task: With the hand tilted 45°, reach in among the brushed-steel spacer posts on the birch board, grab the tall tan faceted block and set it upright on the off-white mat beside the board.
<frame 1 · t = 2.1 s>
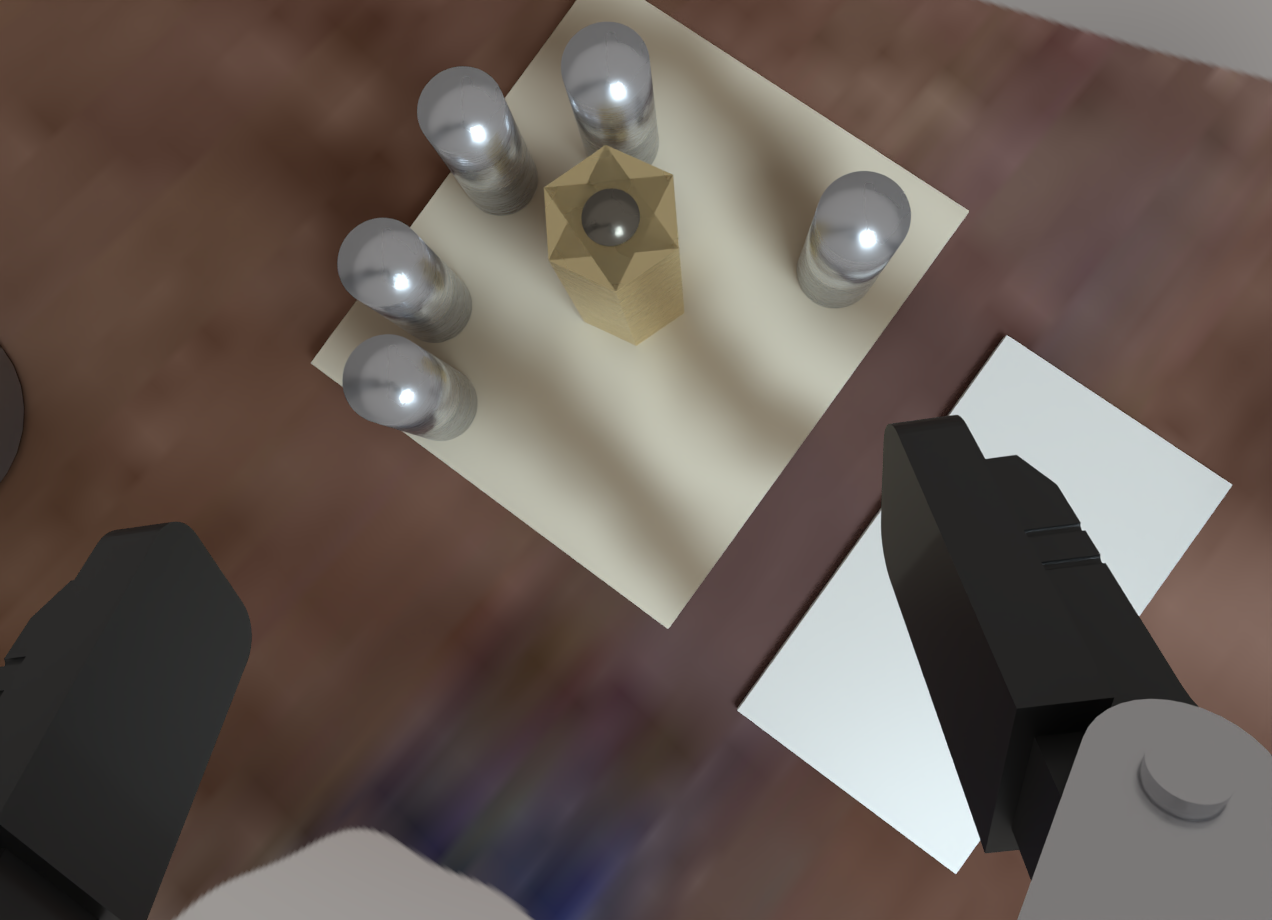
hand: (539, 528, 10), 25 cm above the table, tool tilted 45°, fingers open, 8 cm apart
off-white mat: (978, 598, 33), on the table
tan faceted block: (632, 288, 34), point 1 cm above the table, touching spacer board
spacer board: (634, 295, 35), on the table
spacer posts: (590, 293, 31), on the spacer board, point 4 cm above the table
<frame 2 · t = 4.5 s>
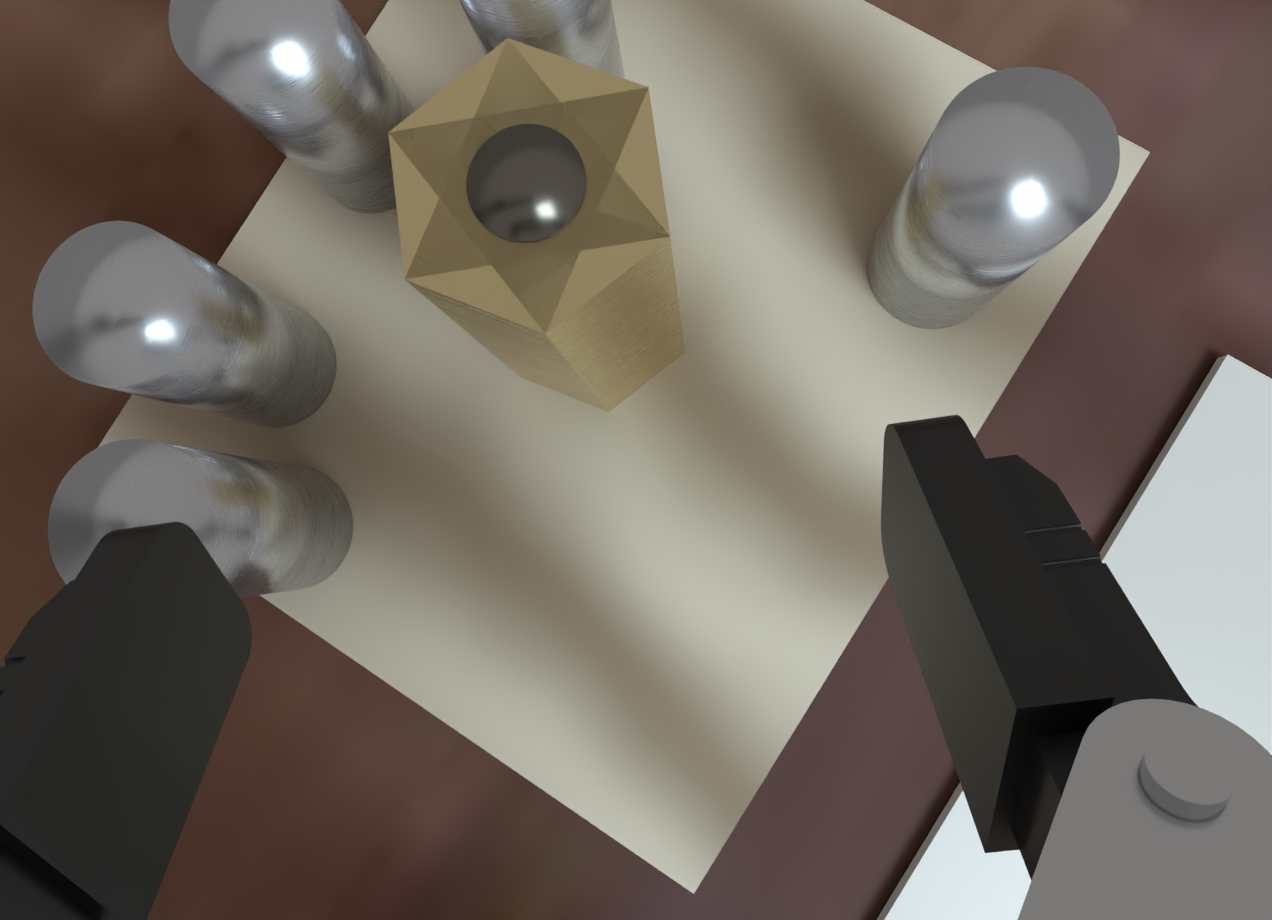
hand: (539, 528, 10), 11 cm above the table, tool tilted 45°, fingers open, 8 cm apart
off-white mat: (1217, 804, 20), on the table
tan faceted block: (596, 318, 21), point 1 cm above the table, touching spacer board
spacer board: (601, 328, 22), on the table
spacer posts: (519, 333, 18), on the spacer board, point 4 cm above the table
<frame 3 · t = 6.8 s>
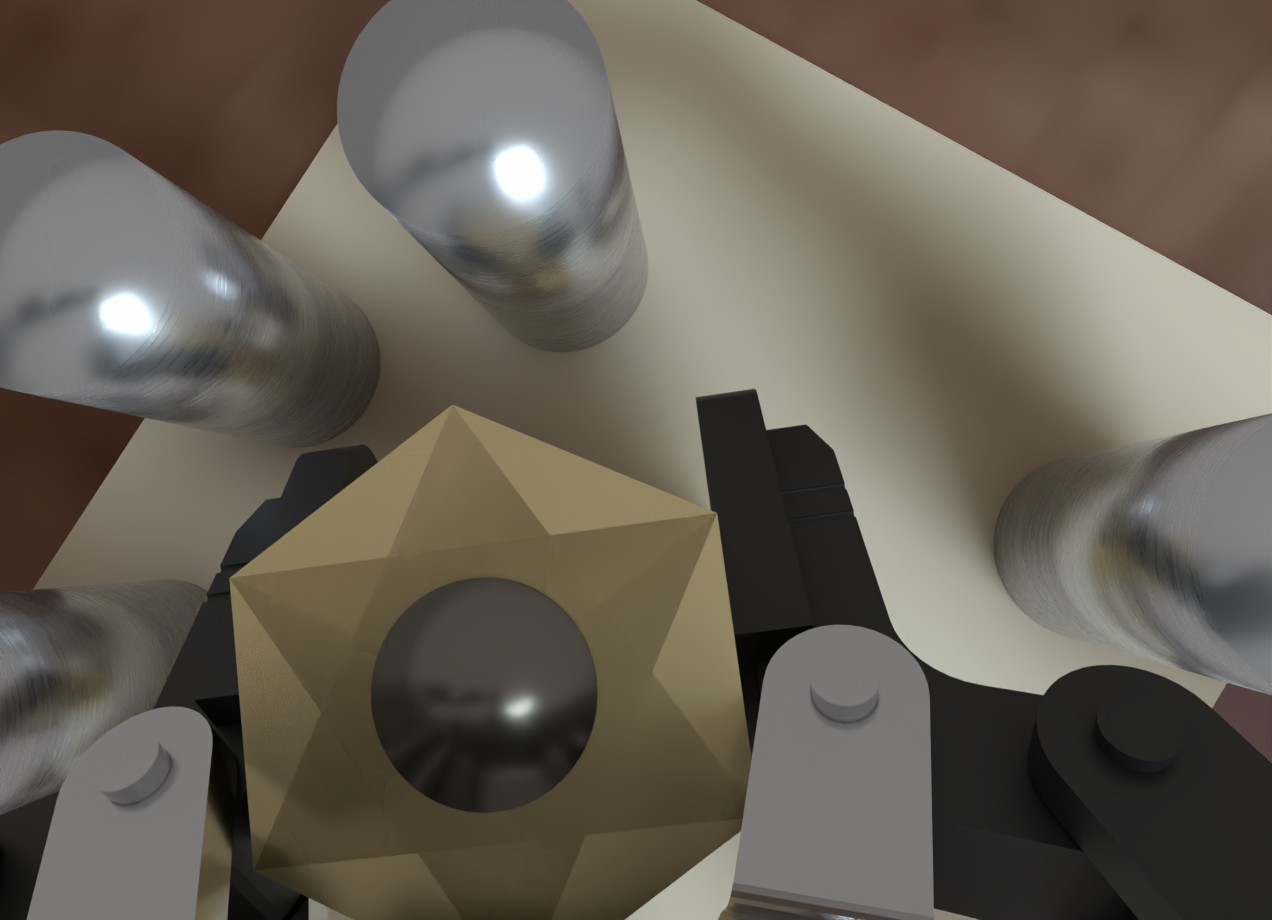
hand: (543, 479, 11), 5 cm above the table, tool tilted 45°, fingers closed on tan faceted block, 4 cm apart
tan faceted block: (606, 608, 15), point 1 cm above the table, touching gripper, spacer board
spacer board: (613, 603, 16), on the table
spacer posts: (492, 703, 12), on the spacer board, point 4 cm above the table
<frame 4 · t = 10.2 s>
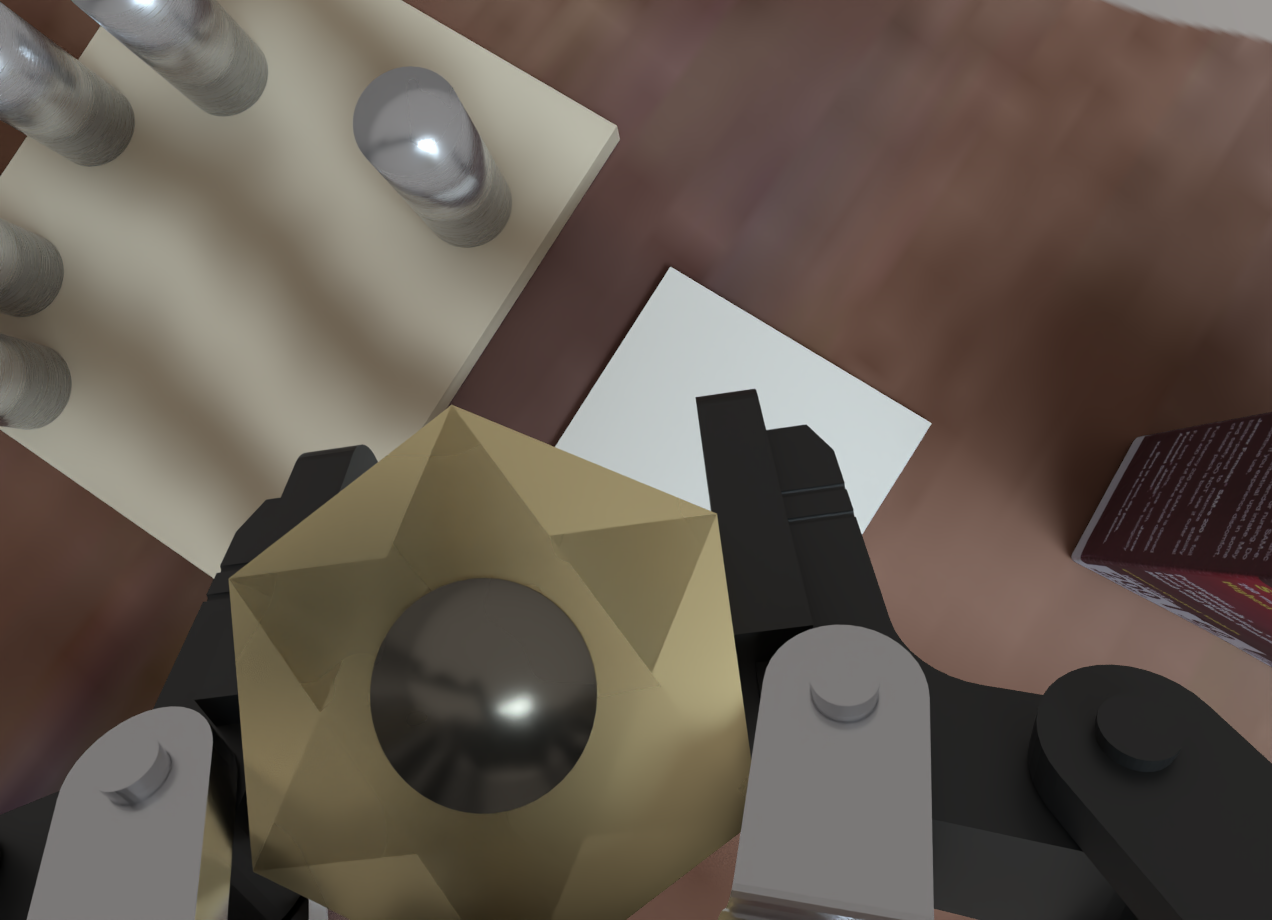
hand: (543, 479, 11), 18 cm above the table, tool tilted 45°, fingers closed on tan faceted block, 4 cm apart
off-white mat: (652, 574, 29), on the table
tan faceted block: (606, 608, 15), point 14 cm above the table, touching gripper
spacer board: (256, 249, 31), on the table
supplement box: (1219, 565, 27), on the table
spacer posts: (151, 241, 27), on the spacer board, point 4 cm above the table
when the fingers open (6 cm above the table, at t = 13.5 s): tan faceted block drops 1 cm, resting on off-white mat.
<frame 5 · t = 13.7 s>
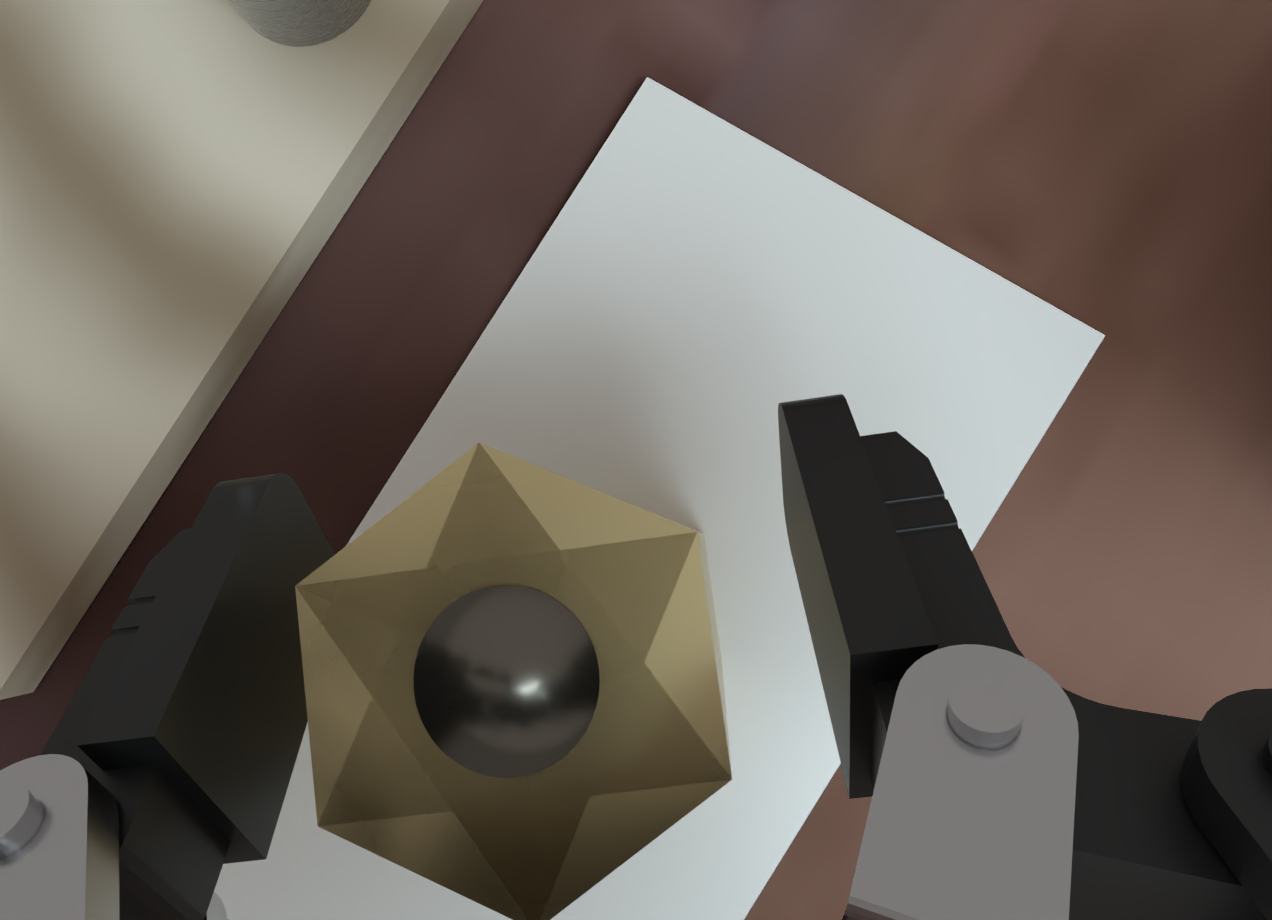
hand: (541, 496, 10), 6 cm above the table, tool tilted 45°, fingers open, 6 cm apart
off-white mat: (617, 600, 17), on the table
tan faceted block: (607, 608, 16), resting on off-white mat
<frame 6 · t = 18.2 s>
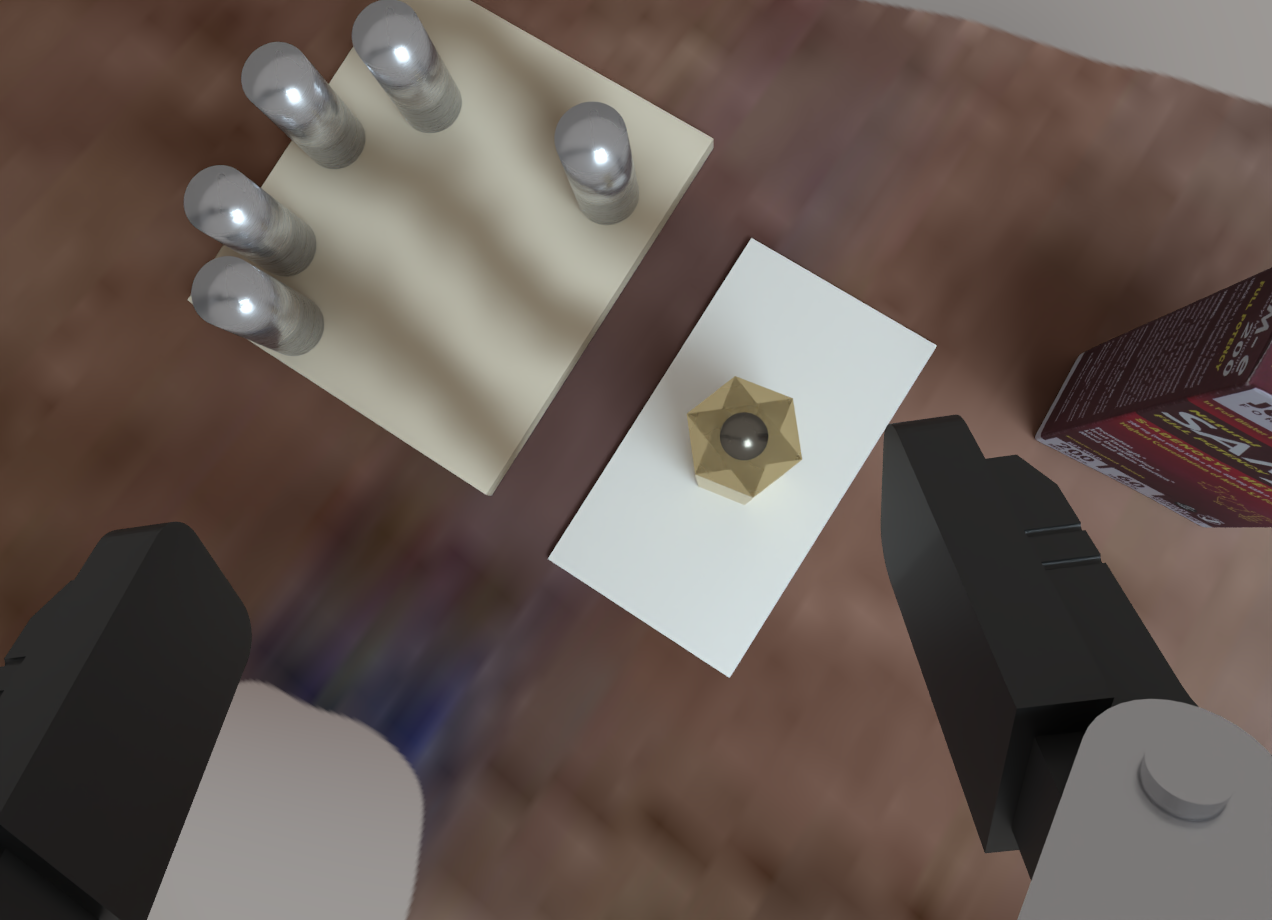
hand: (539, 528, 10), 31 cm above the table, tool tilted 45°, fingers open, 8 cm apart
off-white mat: (740, 454, 40), on the table
tan faceted block: (737, 456, 40), resting on off-white mat
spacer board: (451, 228, 43), on the table
supplement box: (1138, 442, 39), on the table
spacer posts: (398, 220, 39), on the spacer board, point 4 cm above the table
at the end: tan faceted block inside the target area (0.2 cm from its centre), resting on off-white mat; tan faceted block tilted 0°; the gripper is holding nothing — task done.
